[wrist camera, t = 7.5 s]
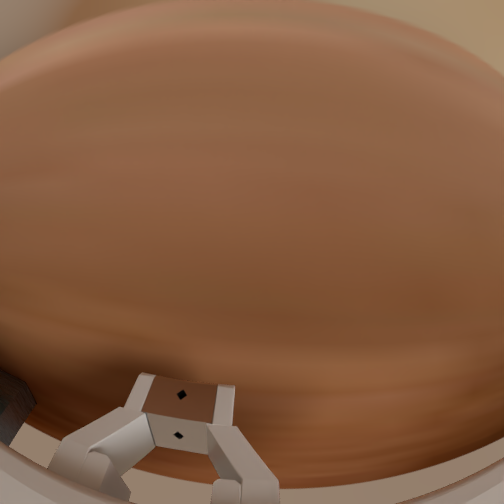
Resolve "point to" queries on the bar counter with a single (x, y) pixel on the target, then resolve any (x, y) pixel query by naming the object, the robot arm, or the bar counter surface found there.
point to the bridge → (13, 406)
